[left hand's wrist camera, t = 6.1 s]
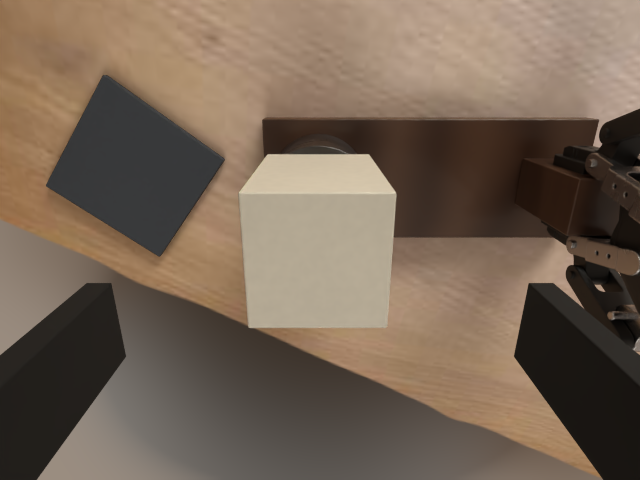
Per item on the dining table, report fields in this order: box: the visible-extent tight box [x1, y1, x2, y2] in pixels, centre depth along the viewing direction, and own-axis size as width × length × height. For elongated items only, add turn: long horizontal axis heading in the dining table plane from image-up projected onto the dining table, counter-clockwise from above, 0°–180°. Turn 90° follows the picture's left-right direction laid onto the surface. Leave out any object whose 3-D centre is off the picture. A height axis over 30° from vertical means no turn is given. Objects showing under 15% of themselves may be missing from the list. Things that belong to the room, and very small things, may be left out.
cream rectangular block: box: [238, 154, 396, 328], centre depth 20 cm, size 6×6×9 cm
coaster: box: [46, 75, 225, 256], centre depth 31 cm, size 10×10×1 cm
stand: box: [262, 118, 620, 237], centre depth 28 cm, size 24×9×8 cm, turn 90°
